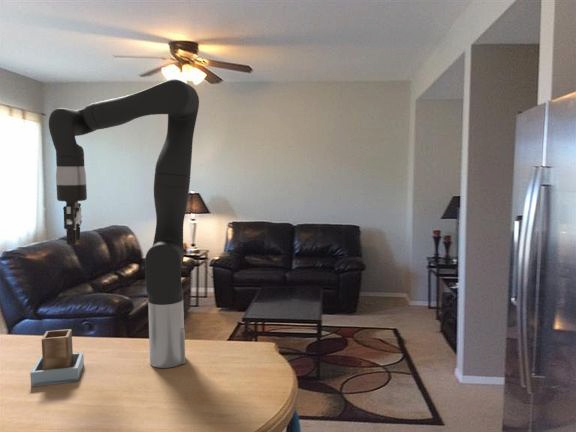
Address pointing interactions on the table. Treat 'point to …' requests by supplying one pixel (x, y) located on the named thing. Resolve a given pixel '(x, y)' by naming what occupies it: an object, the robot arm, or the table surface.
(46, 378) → the blue crate
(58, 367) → the walnut crate
